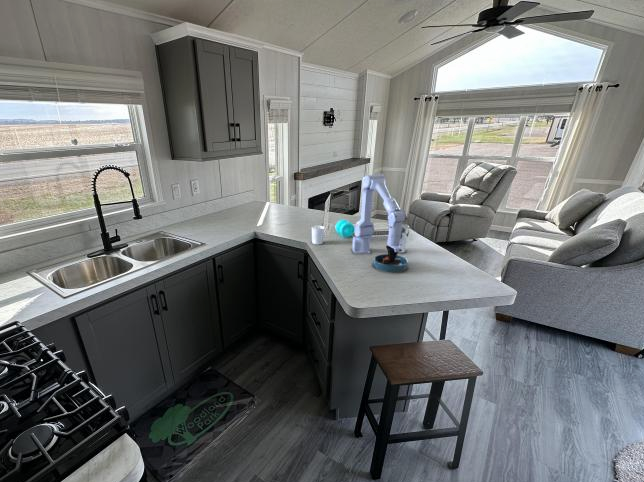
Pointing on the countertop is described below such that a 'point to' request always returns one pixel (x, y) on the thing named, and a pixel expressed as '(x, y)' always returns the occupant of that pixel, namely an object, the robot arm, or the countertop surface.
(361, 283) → the countertop surface
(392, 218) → the robot arm
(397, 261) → the paddle
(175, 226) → the countertop surface
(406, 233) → the beer glass
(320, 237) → the white cup
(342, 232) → the donuts
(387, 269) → the bowl
